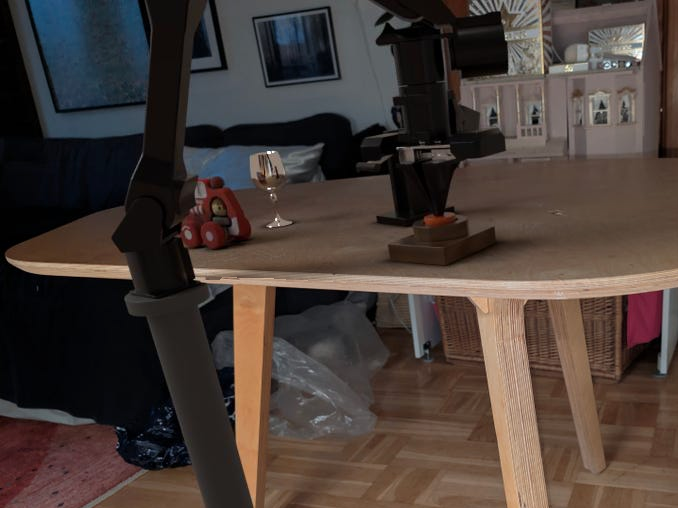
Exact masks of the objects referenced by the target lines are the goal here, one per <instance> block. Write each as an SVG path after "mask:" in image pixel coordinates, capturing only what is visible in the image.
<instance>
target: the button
mask: <svg viewBox="0 0 678 508" xmlns="http://www.w3.org/2000/svg"><path fill="white" fill-rule="evenodd" d="M455 215H456V212H455V213H451V212H444V215H442V216H434V215H433V214H430V215H427V216H425V217H424V222H425V225H442V224H447V223H452V222H455V221H456V216H455Z"/></svg>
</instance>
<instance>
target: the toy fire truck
mask: <svg viewBox="0 0 678 508" xmlns="http://www.w3.org/2000/svg"><path fill="white" fill-rule="evenodd" d="M195 200H196V203H197V206H195V207H194V208H192V209H191V210H190V213H189V215H188V216H187V218H185V220H186V221H185V222H184V221H183V222H182V232H181V234H180V235H179V237H181V238H182V241H183V244H185V246H187V247H188V248H191V249H193V248H194V249H195V248H197V247H200V246H202V245H203V244H205V246H207V247H208V248H209V249H211V250H217V249H219V248H222V247H224V246H225V245H226V241H227V240H230V239H231V240H232V239H235V240H237V241H244V240H247V239H249V238H250V237H251V235H252V226H251V223H250V220H249V219H248V218H247V217H246V216H245V211H244V210H243V207H242V206H241V204H240V203H239V201H238V199H237V197H236V196H235V194H234V192H233V190H232V189H231V188H230V187H228V186H226V183H225V180H224V178H223V177H222V176H219V175H215V176H213V177H212V178H211V177H198V182H197V186H196V189H195Z"/></svg>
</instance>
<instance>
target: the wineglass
mask: <svg viewBox="0 0 678 508" xmlns="http://www.w3.org/2000/svg"><path fill="white" fill-rule="evenodd" d="M249 174H250V178H251V181H252V183H253V185H254V186H255V187H256V188H257V189H258V190H260V191H262V192H265V193H266V192H267V193H270V200H271V202H272V204H273V208H274V212H275V220H273V221H272V222H270V223H268V224H266V226H265V227H266V228H279V227H285V226H289V225H291V224H292V223H293V221H292V220H285V219H283V218H281V216H280V214H279V209H278V196H277V195H276V192H277V191H279V190H280V189H281V188H283V187H284V186H285V184H286V181H287V170H286V167H285V164H284V161H283V159H282V157H281V155H280V153H279V151H278V150H271V151H263V152H256V153H251V154H249Z"/></svg>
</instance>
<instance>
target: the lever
mask: <svg viewBox="0 0 678 508" xmlns="http://www.w3.org/2000/svg"><path fill="white" fill-rule="evenodd" d="M393 155H394V154H393ZM391 156H392V155H388V156H385V157H382V159H381V160H380V161H366V162H357V163H356V164H355V169H356V170H357V171H360V172H380V171H381V169H382V166H381V164H382V163H384V162H386V161H387V159H388V158H390V157H391Z"/></svg>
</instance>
